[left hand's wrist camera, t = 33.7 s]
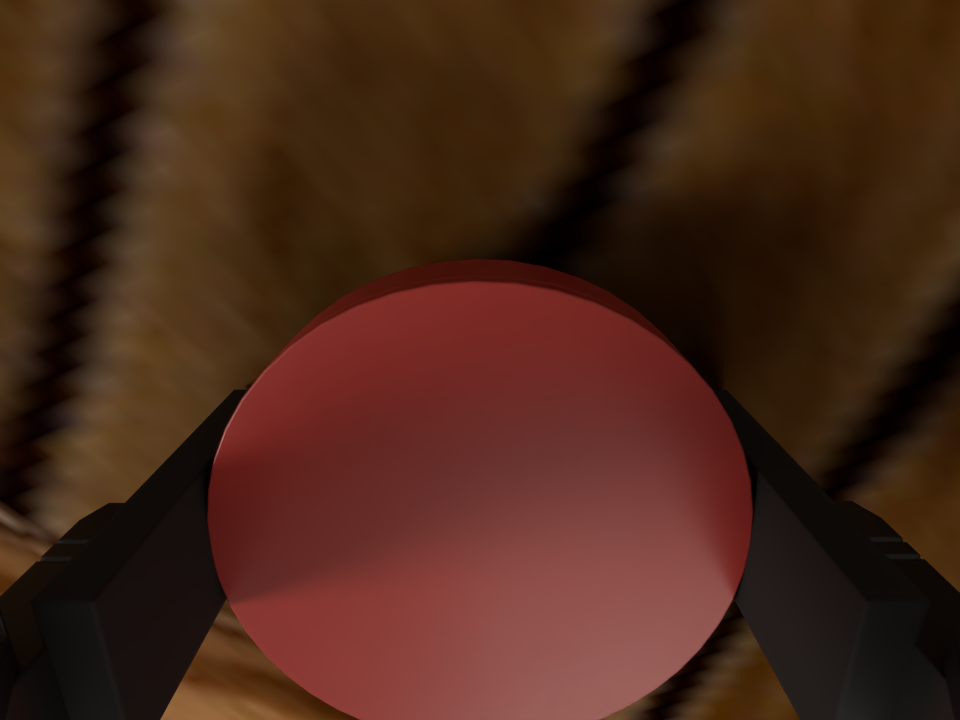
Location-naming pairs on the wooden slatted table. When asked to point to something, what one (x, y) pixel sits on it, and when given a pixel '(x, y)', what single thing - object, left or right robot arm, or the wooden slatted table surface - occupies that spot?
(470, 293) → the lid
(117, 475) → the wooden slatted table surface
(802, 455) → the wooden slatted table surface
